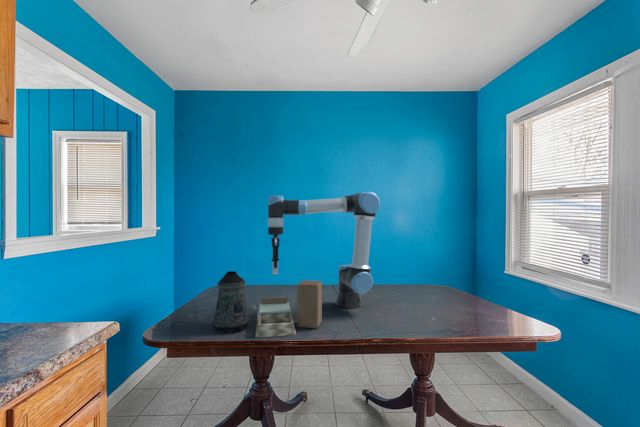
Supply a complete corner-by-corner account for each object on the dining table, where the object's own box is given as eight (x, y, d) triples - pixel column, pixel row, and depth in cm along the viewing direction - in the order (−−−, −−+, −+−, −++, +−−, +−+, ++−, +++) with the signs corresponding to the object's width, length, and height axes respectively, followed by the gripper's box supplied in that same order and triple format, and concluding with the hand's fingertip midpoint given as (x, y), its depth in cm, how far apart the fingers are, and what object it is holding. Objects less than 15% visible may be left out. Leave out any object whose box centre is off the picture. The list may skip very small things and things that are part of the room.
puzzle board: (290, 312, 164) (290, 303, 165) (296, 335, 133) (296, 323, 133) (257, 314, 162) (257, 304, 162) (255, 337, 130) (255, 325, 130)
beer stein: (229, 337, 131) (230, 277, 131) (199, 327, 141) (200, 272, 141) (257, 325, 145) (257, 271, 145) (228, 318, 155) (228, 267, 155)
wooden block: (317, 329, 140) (318, 285, 140) (296, 327, 142) (296, 283, 142) (322, 322, 150) (322, 280, 150) (302, 320, 152) (302, 279, 152)
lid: (288, 303, 162) (288, 296, 162) (290, 312, 147) (291, 304, 147) (259, 305, 159) (259, 297, 159) (259, 314, 145) (259, 305, 145)
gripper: (267, 226, 160) (267, 271, 160) (268, 227, 148) (267, 276, 147) (282, 226, 162) (282, 271, 161) (283, 227, 149) (283, 276, 149)
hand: (275, 273), depth 154 cm, fingers closed
